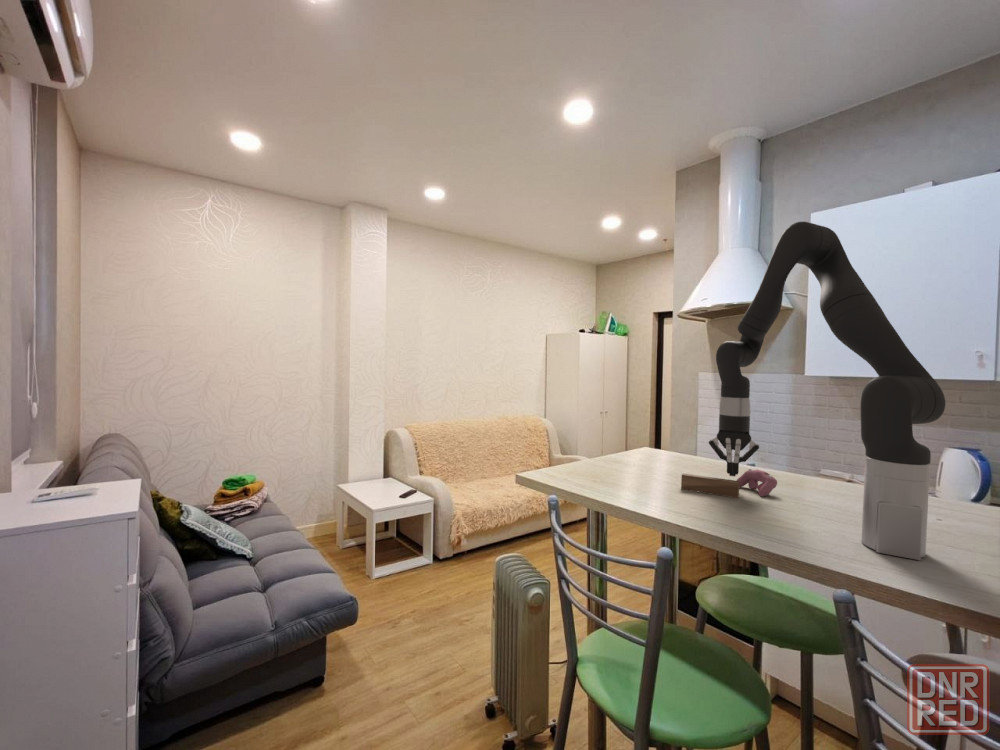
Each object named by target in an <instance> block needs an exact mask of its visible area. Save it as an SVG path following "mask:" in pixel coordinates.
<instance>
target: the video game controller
mask: <svg viewBox="0 0 1000 750" xmlns="http://www.w3.org/2000/svg"><path fill="white" fill-rule="evenodd" d="M735 481H739V488H742V487H745V486H746V485H748V488H749V489H751V490H753V491H755V490H757V491H758V495H759V496H760V497H765V496H767V495H770V493H771V492H772V491H773V490H774V489H776V488H777V485H778V480H777V479H776V478H775V477H774V476H772V475H771V473H768V472H766V471H764V470H761V469H751V468H750V469H748V470H746V471H745V472H744V473H743V474H741V475H740V476H739V477H738V478H737V479H736V480H735ZM759 482H760V483H759Z"/></svg>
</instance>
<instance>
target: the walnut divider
mask: <svg viewBox="0 0 1000 750" xmlns="http://www.w3.org/2000/svg"><path fill="white" fill-rule="evenodd" d="M680 483H681V487H680V489H681V490H685V491H690V490H692V492H697V491H699V492H698V493H703V492H705V493H704V494H709V493H711V494H710V495H716V494H717V496H722V495H723V496H724V497H729V496H730V497H731V498H736V499H739V497H740V487H739V481H736V480H734V479H725V478H719V477H712V476H705V475H698V474H697V475H696V474H692V473H691V474H689V473H684V472H683V473H681V482H680ZM723 496H722V497H723ZM730 497H729V498H730Z"/></svg>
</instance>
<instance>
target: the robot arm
mask: <svg viewBox="0 0 1000 750" xmlns="http://www.w3.org/2000/svg"><path fill="white" fill-rule="evenodd" d="M797 264H799V265H804V266H805V267H807V268H808V269H809V270H810V271H811V272H812V274H813V275H814V277H815V278H816V280H817V281H818V283H819V286H820V299H819V308H820V312H821V314H822V316H823V318H824V320H825V322H826V324H827V325H828V327H829V329H830V330H831V332H832V334H833V335H834V336H835V337H836V338H837V340H839V341H840V342H841V343H842V344H843V345H844V346H846V347H847V348H849V350H851V351H852V352H854V353H855V354H856V355H858V356H859V357H860V358H862V359H863V360H864V362H866V363H868V365H870V366H871V368H873V370H874V372H876V374H877V376H876V377H874V378H872V379H870V380H869V381H868V382H867V383H866V384H865V386H864V388H863V390H862V393H861V397H860V435H861V440H862V443H863V445H864V448H865V456H864V457H865V458H864V473H863V474H864V478H863V498H862V499H863V500H862V518H861V519H862V523H861V543H862V544H863V545H865V547H869V548H870V549H872V550H874V551H875V552H876V553H879V554H883V555H888V556H889V555H890V556H895V557H899V558H900V557H901V558H907V559H911V560H918V561H922V558H924V557H925V556H926V552H927V551H926V550H927V534H928V533H927V530H928V512H929V493H930V492H929V491H930V478H931V477H930V474H931V460H932V459H931V455H932V453H931V450H930V448H929V447H927V446H926V445H924V444H921V443H919V442H918V441H917V440H916V439H915V437H914V435H913V434H914V433H913V432H914V431H913V425H921V424H929V423H933V422H935V421H937V420H939V418H941V417H942V416H943V414H944V413H945V409H946V397H945V395H944V392H943V390H942V388H941V386H940V385H939V384H938V382H937V381H936V379H935V378H934V377H933V376H932V375H931V374H930V373H929V371H928V370H927V369H926V368H925V367H924V366H923V364H922V363H921V362H920V361H919V359H917V357H915V356H914V354H913V353H912V351H910V349H909V348H908V346H907V345H906V343H905V342H904V341H903V339H902V338H901V336H900V335H899V333H898V332H897V330H896V329H895V327H894V326H893V325H892V323H891V322H890V320H889V318H887V316H886V314H885V312H884V310H883V309H882V307H881V306H880V305H879V303H878V302H877V299H876V298H875V297H874V295H873V294H872V292H871V291H870V290H869V288H868V287H867V285H866V284H865V282H864V281H863V279H861V276H860V275H859V274H858V272H857V271H856V269H855V268H854V267H853V265H852V263H851V262H850V259H849V257H848V255H847V253H846V251H845V249H844V247H843V245H842V242H841V240H840V237H839V236H838V234H836V232H835V231H834V230H832V229H831V228H829V227H826V226H824V225H820V224H816V223H812V222H809V221H797V222H794V223H793V224H791V225H789V226H788V227H787V228H785V230H784V231H783V233H782V234H781V235H780V237H779V240H778V242H777V243H776V246H775V248H774V251H773V253H772V255H771V258H770V260H769V263H768V265H767V268H766V270H765V272H764V274H763V278H762V280H761V282H760V285H759V286H758V290H757V291H756V293H755V295H754V297H753V300H752V301H751V303H750V305H749V307H748V308H747V310H746V311H745V313H744V315H743V316H742V318H741V319H740V321H739V323H738V325H737V331H738V333H739V334H741V336H740V339H739V341H731V340H727V341H724V342H722V343H721V344H720V345H719V346H718V348H717V350H716V354H715V362H716V366H717V370H718V375H719V379H720V382H721V384H720V401H719V408H718V409H719V413H718V414H719V415H718V417H719V418H718V431H717V434H716V437H714V438H712V439H709V441H708V445H709V446H710V447H711V448H712V449H713V451H714V452H715V453H716V455H717V456H718V457H719V459H720V460H723V461H725V462H726V472H727V473H726V474H728V476H729V477H736V476H738V474H739V468H740V463H745V462H747V460H749V458H751V456H753V455H754V454H755V453H756V452H757V451H758V450H759V449H760V444H759V443H757V442H754V441H753V439H752V436H751V434H750V430H751V429H750V424H751V423H750V422H751V402H750V401H751V400H750V395H751V393H750V392H751V390H750V388H751V387H750V386H751V382H750V379H749V378H748V377H747V376H744V375H743V374H742V371H741V368H747V367H749V366H750V365H752V364H753V363H754V362H755V361H756V359H757V358H758V357H759V355H760V353H761V349H762V346H763V343H764V340H765V336H766V335H767V333H768V331H769V330H770V329H771V328H772V326H773V324H774V323H775V321H776V320H777V318H778V316H779V314H780V312H781V309H782V305H783V295H784V289H785V284H786V281H787V279H788V276H789V275H790V273H791V272H792V271H793V268H795V266H796V265H797ZM719 443H720V444H721V446H723V448H724V449H725V453H726V454H725V453H724V452H723V451H722V449H721V448H720V446H719ZM747 446H748V451H747V452H745V453H744V454H742V456H741V451H743V450H744V449H745V448H746V447H747ZM733 451H734V456H733Z"/></svg>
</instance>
